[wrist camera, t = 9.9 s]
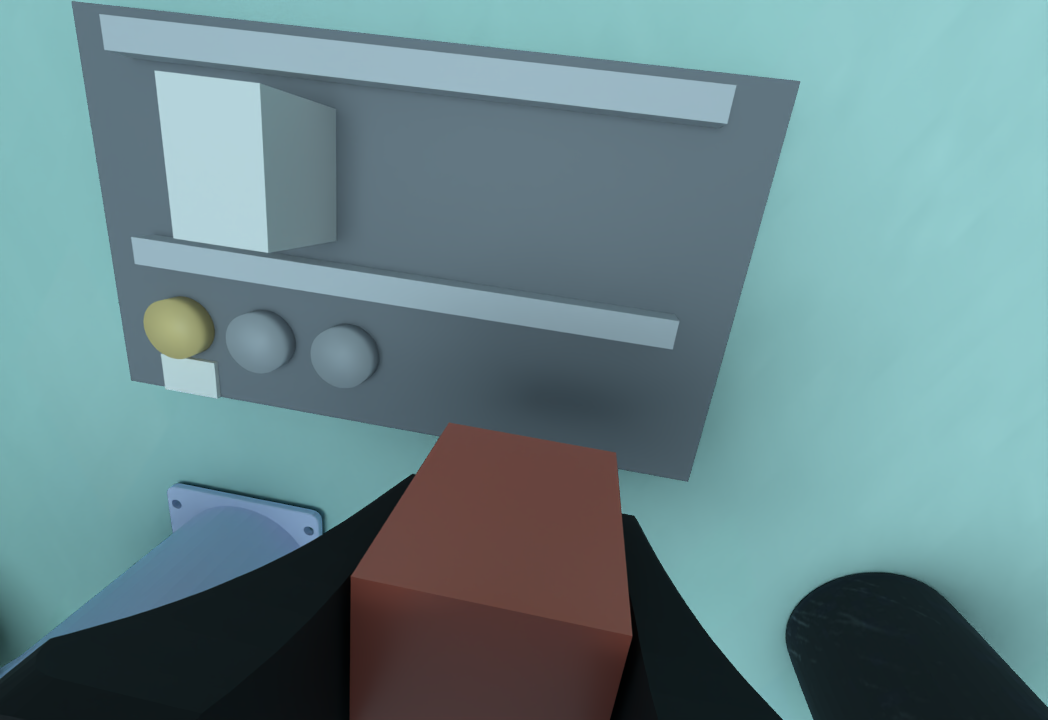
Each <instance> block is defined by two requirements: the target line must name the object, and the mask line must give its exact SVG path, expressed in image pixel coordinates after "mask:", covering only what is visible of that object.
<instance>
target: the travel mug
mask: <svg viewBox="0 0 1048 720" xmlns="http://www.w3.org/2000/svg"><path fill="white" fill-rule="evenodd" d="M786 643H787V649H788V652H789V655H790V658H791V662H792V664H793V667H794V670H795V673H796V675H797V678H798V681H799V683H800V686H801V689H802V691H803V694H804V696H805V699H806V702H807V704H808V707H809V709H810V712H811V714H812V717H813V720H1048V707H1047V706H1046V705H1045V704H1044V703H1043V702H1042V701H1041V700H1040V699H1039V698H1038V696H1037V695H1036V694H1035V693H1034V692H1033V691H1032V690H1031V689H1030V688H1029V687H1028V686H1027V685H1026V684H1025V683H1024V681H1023V680H1022V679H1021V678H1020V677H1019V676H1018V675H1017V674H1016V673H1015V672H1014V671H1013V670H1012V669H1011V668H1010V666H1009V665H1008V664H1007V663H1006V662H1005V661H1004V660H1003V659H1002V658H1001V657H1000V656H999V655H998V654H997V653H996V651H995V650H994V649H993V648H992V647H991V646H990V645H989V644H988V643H987V642H986V641H985V640H984V639H983V638H982V636H981V635H980V634H979V633H978V632H977V631H976V630H975V629H974V628H973V627H972V626H971V625H970V624H969V623H968V622H967V621H966V620H965V618H964V617H963V616H962V615H961V614H960V613H959V612H958V611H957V610H956V609H955V608H954V607H953V606H952V605H951V604H950V603H949V602H948V601H947V600H946V599H945V598H944V597H943V596H941V595H940V594H939V593H938V592H937V591H935V590H934V589H932V588H930V587H929V586H927V585H925V584H924V583H921V582H919V581H917V580H914V579H911V578H908V577H905V576H900V575H895V574H887V573H865V574H857V575H852V576H847V577H843V578H840V579H837V580H834V581H832V582H829V583H827V584H825V585H823V586H821V587H819V588H818V589H816V590H815V591H813V592H812V593H810V594H809V595H808V596H807V597H805V598H804V599H803V600H802V601H801V602H800V603H799V605H798V606H797V607H796V608H795V610H794V612H793V613H792V615H791V617H790V619H789V622H788V625H787V630H786Z"/></svg>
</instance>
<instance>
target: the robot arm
mask: <svg viewBox="0 0 1048 720" xmlns="http://www.w3.org/2000/svg"><path fill="white" fill-rule="evenodd" d="M415 475H416V474H412V475H410V476H409V477H407V478H406V479H404V480H403V481H401V482H400V483H399V484H397V485H396V486H394V487H393V488H392V489H390V490H389V491H387V492H386V493H385V494H383V495H382V496H380V497H379V498H377V499H376V500H375V501H373V502H372V503H370V504H369V505H367V506H366V507H364V508H363V509H362V510H360V511H359V512H357V513H356V514H354V515H353V516H351V517H350V518H348V519H347V520H345V521H344V522H342V523H340V524H339V525H337V526H335V527H334V528H332V529H331V530H329V531H327V532H326V533H324V534H322V517H321V516H320V514H319V513H318V512H317V511H314V510H311V509H306V508H301V507H296V506H291V505H286V504H281V503H276V502H271V501H266V500H261V499H256V498H251V497H246V496H241V495H236V494H231V493H226V492H221V491H216V490H211V489H206V488H201V487H196V486H191V485H186V484H181V483H176V484H174V485H173V486H171V487H170V488H169V489H168V490H167V496H168V503H169V510H170V517H171V524H172V531H173V534H171V535H170V536H169V537H168V538H166V539H165V540H164V541H163V542H162V543H160V544H159V545H158V546H157V547H155V548H154V549H153V550H152V551H150V552H149V553H148V554H147V555H145V556H144V557H143V558H142V559H140V560H139V561H138V562H137V563H135V564H134V565H133V566H132V567H130V568H129V569H128V570H127V571H125V572H124V573H123V574H122V575H120V576H119V577H118V578H117V579H115V580H114V581H113V582H112V583H110V584H109V585H108V586H107V587H105V588H104V589H103V590H102V591H100V592H99V593H98V594H97V595H95V596H94V597H93V598H92V599H90V600H89V601H88V602H87V603H85V604H84V605H83V606H82V607H81V608H79V609H78V610H77V611H76V612H74V613H73V614H72V615H71V616H69V617H68V618H67V619H66V620H64V621H63V622H62V623H61V624H59V625H58V626H57V627H56V628H54V629H53V630H52V631H51V632H49V633H48V634H47V635H46V636H44V637H43V638H42V639H41V640H39V641H38V642H37V643H36V644H34V645H33V646H32V647H31V648H29V649H28V650H27V651H26V652H24V653H23V654H22V655H21V656H19V657H17V658H16V659H14V660H13V661H11V662H10V663H8V664H6V665H5V666H3V667H2V668H0V720H350V609H351V575H352V574H353V572H354V571H355V569H356V567H357V566H358V564H359V563H360V561H361V560H362V558H363V557H364V555H365V553H366V552H367V550H368V549H369V547H370V546H371V544H372V542H373V541H374V539H375V538H376V536H377V535H378V533H379V531H380V530H381V528H382V527H383V525H384V524H385V522H386V520H387V519H388V517H389V516H390V514H391V513H392V511H393V510H394V508H395V506H396V505H397V503H398V502H399V500H400V499H401V497H402V495H403V494H404V492H405V491H406V489H407V488H408V486H409V484H410V483H411V481H412V480H413V478H414V477H415ZM622 524H623V535H624V547H625V558H626V569H627V580H628V591H629V603H630V614H631V625H632V640H631V643H630V647H629V651H628V654H627V658H626V662H625V666H624V669H623V673H622V677H621V680H620V684H619V688H618V691H617V695H616V699H615V703H614V706H613V710H612V714H611V717H610V720H783V719H782V718H781V717H780V716H779V715H778V714H777V713H776V712H775V711H774V710H773V709H772V708H771V707H770V706H769V705H768V703H767V702H766V701H765V700H764V699H763V698H762V697H761V696H760V695H759V694H758V693H757V692H756V691H755V690H754V689H753V688H752V686H751V685H750V684H749V683H748V682H747V681H746V680H745V679H744V678H743V676H742V675H741V674H740V673H739V672H738V671H737V670H736V668H735V667H734V666H733V665H732V664H731V662H730V661H729V660H728V659H727V658H726V656H725V655H724V654H723V653H722V651H721V650H720V649H719V648H718V647H717V645H716V644H715V643H714V642H713V640H712V639H711V638H710V637H709V635H708V634H707V632H706V631H705V630H704V628H703V627H702V626H701V624H700V623H699V621H698V620H697V619H696V617H695V616H694V614H693V613H692V611H691V610H690V609H689V607H688V606H687V604H686V603H685V601H684V600H683V598H682V597H681V595H680V594H679V592H678V591H677V589H676V587H675V586H674V584H673V583H672V581H671V579H670V578H669V576H668V575H667V573H666V571H665V570H664V568H663V566H662V565H661V563H660V561H659V560H658V558H657V556H656V554H655V552H654V551H653V549H652V547H651V545H650V543H649V542H648V540H647V538H646V536H645V534H644V532H643V530H642V528H641V527H640V525H639V523H638V521H637V519H636V518H635V516H632V515H627V514H622ZM309 527H311V528H312V529H313V530H311V529H310V528H309Z"/></svg>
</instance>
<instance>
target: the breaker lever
mask: <svg viewBox="0 0 1048 720" xmlns="http://www.w3.org/2000/svg"><path fill="white" fill-rule="evenodd" d="M154 71H155V70H154ZM155 80H156V89H157V98H158V107H159V115H160V124H161V133H162V142H163V150H164V159H165V168H166V177H167V186H168V194H169V203H170V212H171V221H172V229H173V238H174V239H181V240H187V241H194V242H200V243H207V244H213V245H220V246H226V247H233V248H240V249H246V250H253V251H259V252H266V253H271V252H276V251H282V250H288V249H293V248H299V247H305V246H311V245H316V244H322V243H328V242H333V241H336V109H334V108H331V107H328V106H326V105H323V104H320V103H317V102H314V101H311V100H308V99H305V98H302V97H299V96H296V95H293V94H290V93H287V92H284V91H281V90H278V89H275V88H272V87H269V86H266V85H263V84H261V83H254V82H246V81H237V80H229V79H221V78H213V77H204V76H196V75H188V74H180V73H171V72H163V71H155Z"/></svg>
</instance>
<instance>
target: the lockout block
mask: <svg viewBox="0 0 1048 720" xmlns="http://www.w3.org/2000/svg"><path fill="white" fill-rule="evenodd" d="M631 640H632V625H631V614H630V603H629V591H628V580H627V569H626V558H625V547H624V535H623V524H622V513H621V502H620V490H619V479H618V468H617V457H616V452H610V451H605V450H599V449H594V448H588V447H582V446H577V445H571V444H566V443H560V442H555V441H549V440H544V439H538V438H532V437H527V436H521V435H516V434H510V433H505V432H499V431H493V430H488V429H482V428H477V427H471V426H466V425H460V424H454V423H448V425H447V426H446V428H445V430H444V431H443V433H442V434H441V436H440V437H439V439H438V441H437V442H436V444H435V445H434V447H433V448H432V450H431V452H430V453H429V455H428V456H427V458H426V459H425V461H424V463H423V464H422V466H421V467H420V469H419V470H418V472H417V473H416V475H415V477H414V478H413V480H412V481H411V483H410V484H409V486H408V488H407V489H406V491H405V492H404V494H403V495H402V497H401V499H400V500H399V502H398V503H397V505H396V506H395V508H394V510H393V511H392V513H391V514H390V516H389V517H388V519H387V520H386V522H385V524H384V525H383V527H382V528H381V530H380V531H379V533H378V535H377V536H376V538H375V539H374V541H373V542H372V544H371V546H370V547H369V549H368V550H367V552H366V553H365V555H364V557H363V558H362V560H361V561H360V563H359V564H358V566H357V567H356V569H355V571H354V572H353V574H352V575H351V609H350V720H610V717H611V714H612V710H613V706H614V703H615V699H616V695H617V691H618V688H619V684H620V680H621V677H622V673H623V669H624V666H625V662H626V658H627V654H628V651H629V647H630V643H631Z"/></svg>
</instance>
